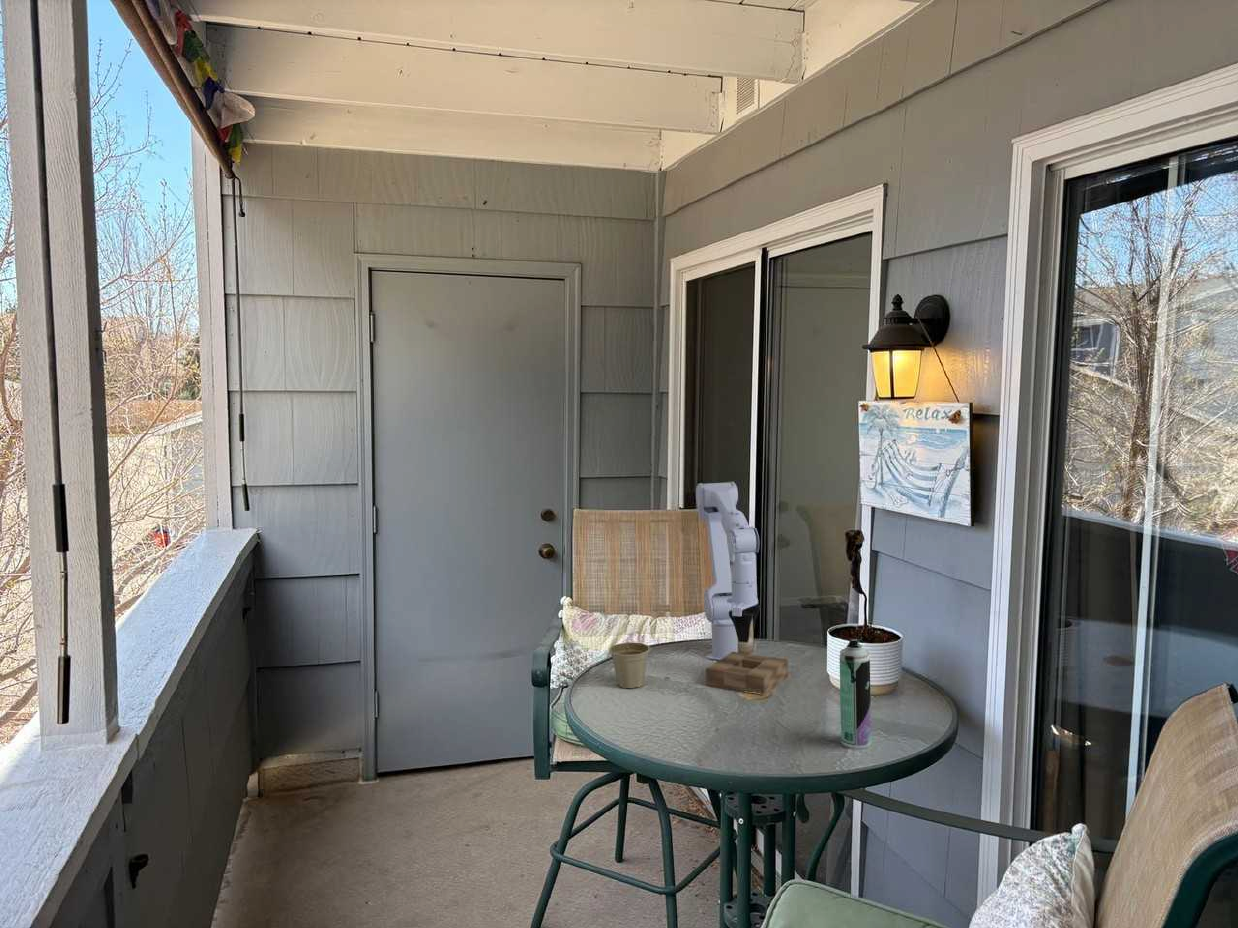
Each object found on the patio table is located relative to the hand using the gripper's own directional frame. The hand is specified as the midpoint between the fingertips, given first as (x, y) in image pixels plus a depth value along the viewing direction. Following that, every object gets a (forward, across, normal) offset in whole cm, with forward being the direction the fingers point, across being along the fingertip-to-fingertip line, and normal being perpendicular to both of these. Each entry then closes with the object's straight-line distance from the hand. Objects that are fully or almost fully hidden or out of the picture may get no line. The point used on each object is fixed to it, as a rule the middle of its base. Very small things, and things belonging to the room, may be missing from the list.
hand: (745, 639), depth 194 cm
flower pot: (+10, +10, -25) cm, 29 cm away
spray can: (+10, +27, +28) cm, 40 cm away
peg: (+3, 0, 0) cm, 3 cm away
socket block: (+10, 0, 0) cm, 10 cm away
